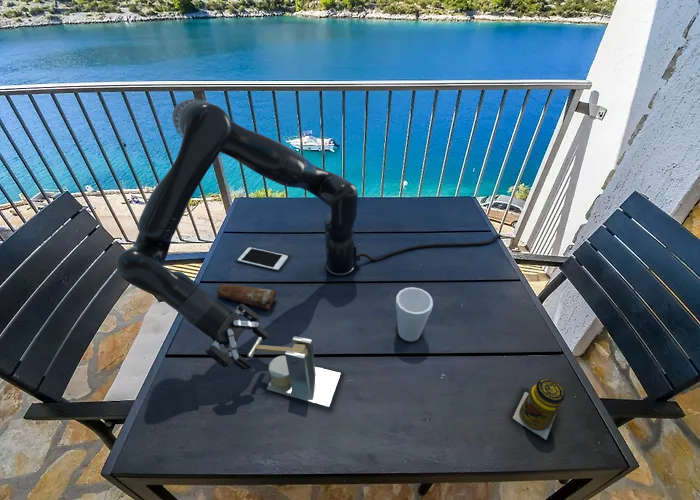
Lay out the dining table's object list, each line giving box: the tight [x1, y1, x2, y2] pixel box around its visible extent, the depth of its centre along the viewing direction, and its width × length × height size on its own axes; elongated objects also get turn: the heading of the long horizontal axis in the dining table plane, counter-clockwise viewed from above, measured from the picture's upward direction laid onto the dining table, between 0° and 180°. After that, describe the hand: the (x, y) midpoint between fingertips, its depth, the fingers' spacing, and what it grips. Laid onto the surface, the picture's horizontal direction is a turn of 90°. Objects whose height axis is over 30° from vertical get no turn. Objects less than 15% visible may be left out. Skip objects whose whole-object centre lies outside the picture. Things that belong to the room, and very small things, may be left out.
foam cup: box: [395, 286, 434, 342], centre depth 94 cm, size 10×9×13 cm
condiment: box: [512, 378, 566, 440], centre depth 76 cm, size 7×8×12 cm
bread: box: [216, 283, 277, 310], centre depth 106 cm, size 6×19×6 cm, turn 72°
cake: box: [268, 355, 291, 386], centre depth 85 cm, size 6×6×4 cm
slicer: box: [266, 335, 341, 408], centre depth 81 cm, size 16×9×15 cm, turn 74°
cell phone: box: [237, 246, 289, 271], centre depth 123 cm, size 8×16×1 cm, turn 71°
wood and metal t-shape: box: [246, 336, 308, 360], centre depth 80 cm, size 14×6×2 cm, turn 74°
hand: (258, 352), depth 83 cm, fingers open, 8 cm apart
